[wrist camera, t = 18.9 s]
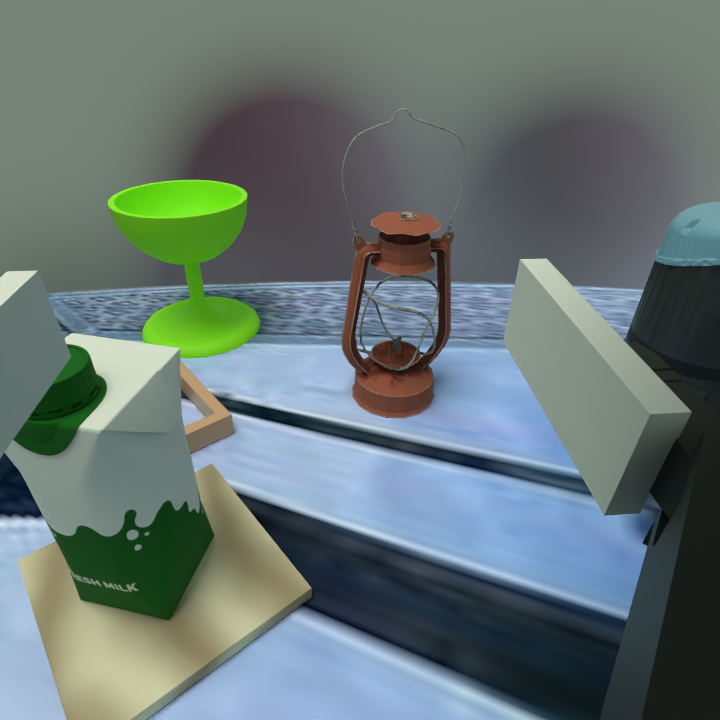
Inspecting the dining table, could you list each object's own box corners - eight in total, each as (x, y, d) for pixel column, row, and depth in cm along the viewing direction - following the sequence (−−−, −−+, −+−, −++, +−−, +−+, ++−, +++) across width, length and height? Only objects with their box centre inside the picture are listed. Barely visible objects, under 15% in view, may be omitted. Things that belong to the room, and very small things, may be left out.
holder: (177, 370, 61) (173, 353, 60) (234, 432, 52) (231, 414, 51) (47, 418, 53) (39, 400, 52) (87, 501, 44) (79, 482, 43)
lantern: (400, 431, 53) (428, 121, 36) (329, 391, 58) (326, 106, 41) (449, 389, 59) (492, 109, 42) (381, 357, 64) (396, 97, 48)
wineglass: (161, 300, 76) (134, 179, 66) (266, 300, 77) (255, 180, 67) (124, 358, 63) (83, 217, 53) (251, 358, 64) (235, 219, 54)
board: (213, 472, 47) (212, 464, 47) (311, 597, 37) (311, 588, 37) (23, 569, 39) (17, 560, 38) (84, 765, 29) (78, 757, 28)
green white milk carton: (60, 610, 35) (-72, 379, 24) (134, 508, 42) (60, 296, 31) (175, 637, 33) (93, 406, 22) (231, 527, 41) (190, 312, 30)
